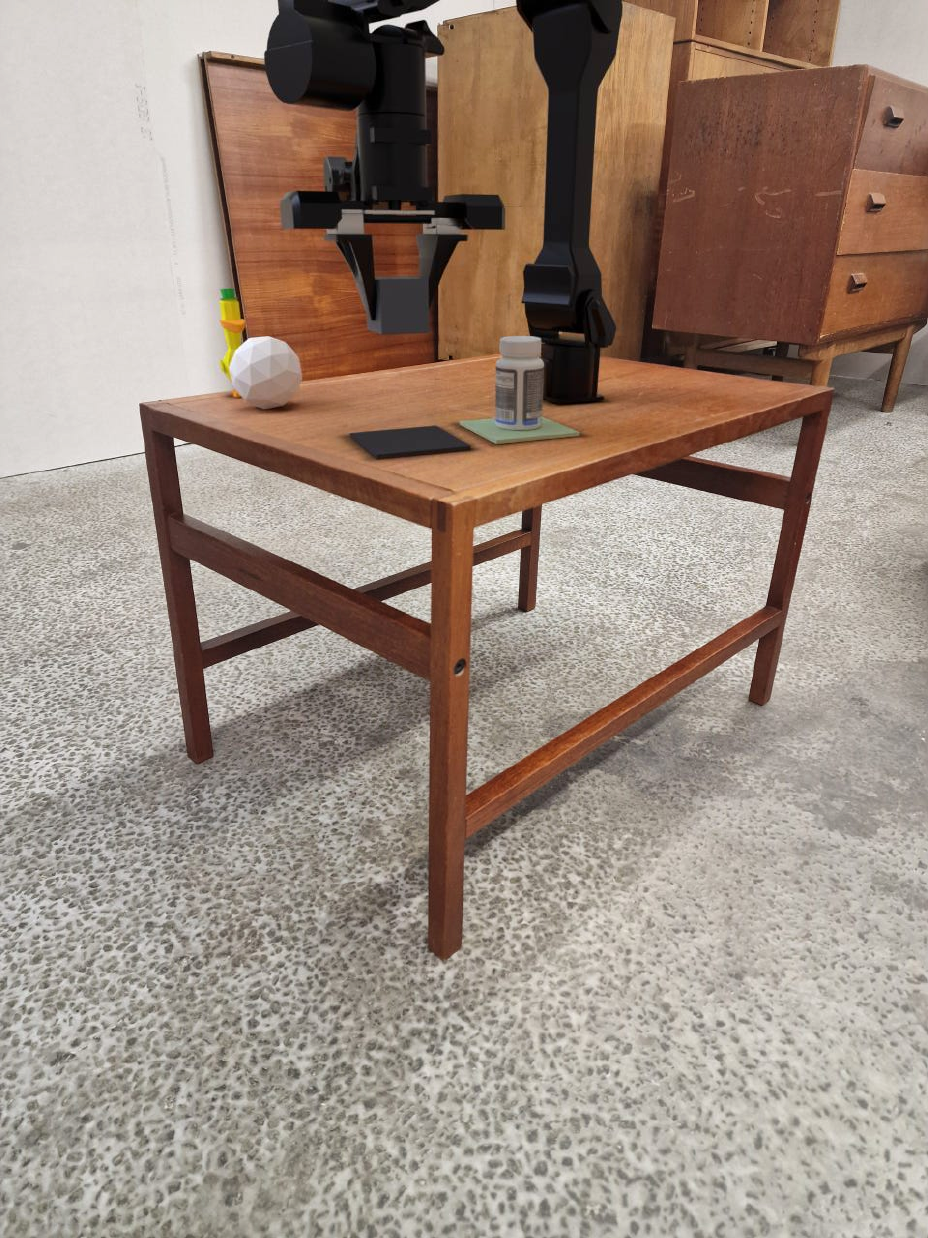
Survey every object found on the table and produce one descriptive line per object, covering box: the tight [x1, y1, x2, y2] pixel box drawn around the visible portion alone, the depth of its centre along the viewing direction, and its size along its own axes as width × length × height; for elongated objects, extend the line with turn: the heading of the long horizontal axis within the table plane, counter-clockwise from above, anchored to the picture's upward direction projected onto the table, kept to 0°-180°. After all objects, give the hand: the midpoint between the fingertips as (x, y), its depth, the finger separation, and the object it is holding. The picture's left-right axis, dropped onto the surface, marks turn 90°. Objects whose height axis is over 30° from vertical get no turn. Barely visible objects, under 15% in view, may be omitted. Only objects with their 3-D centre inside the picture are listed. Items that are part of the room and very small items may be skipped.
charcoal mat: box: [348, 425, 472, 460], centre depth 75 cm, size 9×9×1 cm
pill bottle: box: [494, 335, 544, 430], centre depth 79 cm, size 5×5×8 cm
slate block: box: [366, 275, 430, 336], centre depth 72 cm, size 4×4×4 cm
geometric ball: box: [229, 335, 303, 411], centre depth 89 cm, size 8×8×8 cm
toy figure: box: [219, 288, 247, 398], centre depth 94 cm, size 7×4×12 cm, turn 26°
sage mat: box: [459, 416, 580, 445], centre depth 80 cm, size 9×9×1 cm
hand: (397, 319), depth 73 cm, fingers closed on slate block, 4 cm apart
